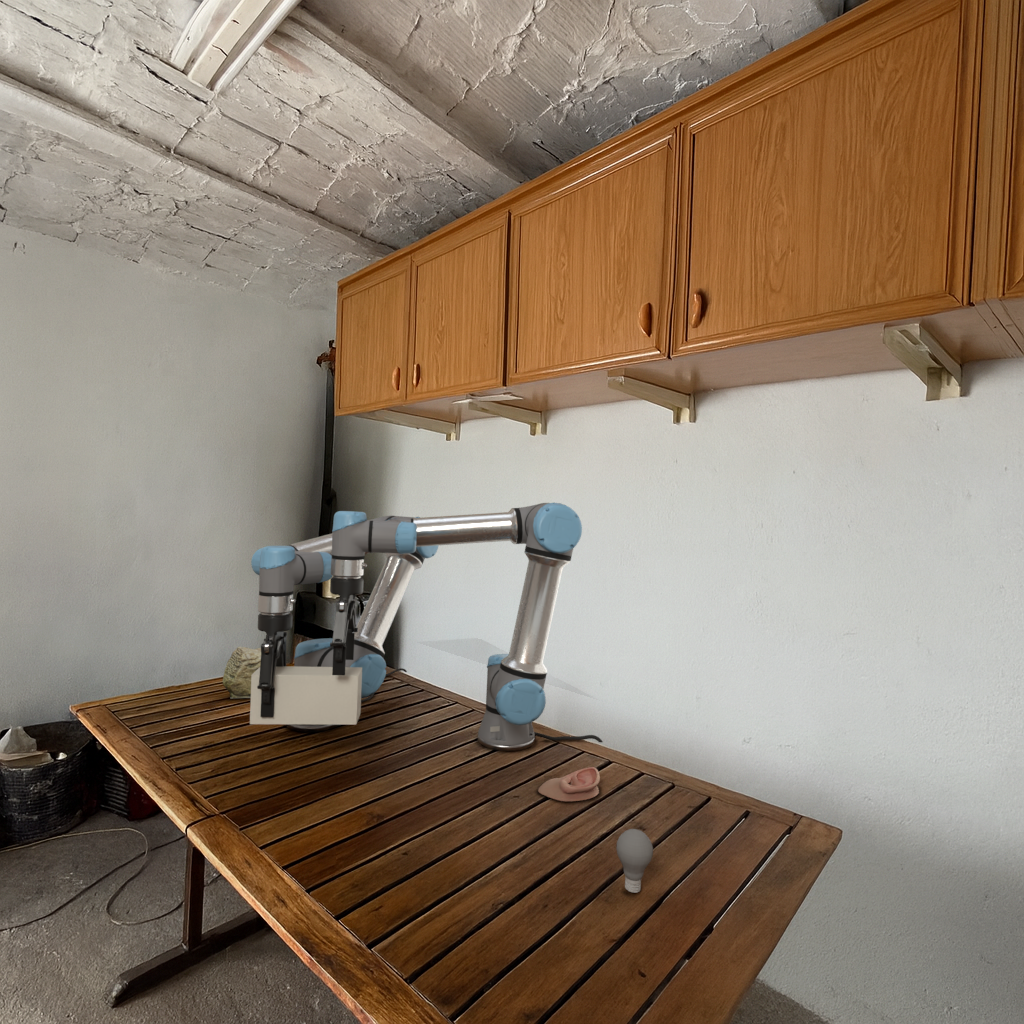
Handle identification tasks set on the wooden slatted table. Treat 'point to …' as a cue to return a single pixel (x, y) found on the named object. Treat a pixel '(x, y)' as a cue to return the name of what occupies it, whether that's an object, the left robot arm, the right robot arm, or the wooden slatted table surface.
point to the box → (310, 696)
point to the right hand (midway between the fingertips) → (343, 666)
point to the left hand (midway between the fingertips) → (272, 710)
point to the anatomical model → (573, 786)
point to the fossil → (241, 671)
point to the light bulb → (634, 857)
